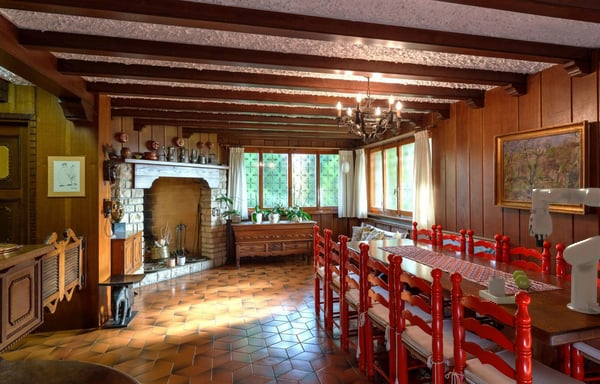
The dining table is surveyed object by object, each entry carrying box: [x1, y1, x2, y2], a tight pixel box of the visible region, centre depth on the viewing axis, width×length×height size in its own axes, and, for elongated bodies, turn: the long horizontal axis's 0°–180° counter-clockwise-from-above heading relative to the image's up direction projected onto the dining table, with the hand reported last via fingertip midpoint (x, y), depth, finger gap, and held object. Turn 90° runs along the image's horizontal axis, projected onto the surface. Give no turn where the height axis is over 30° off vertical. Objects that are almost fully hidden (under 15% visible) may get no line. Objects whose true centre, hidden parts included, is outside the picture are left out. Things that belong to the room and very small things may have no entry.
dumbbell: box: [511, 270, 531, 289], centre depth 211 cm, size 16×8×7 cm, turn 154°
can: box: [487, 275, 506, 297], centre depth 184 cm, size 8×8×12 cm
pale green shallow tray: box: [478, 289, 516, 305], centre depth 184 cm, size 13×11×3 cm
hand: (539, 246), depth 186 cm, fingers closed
